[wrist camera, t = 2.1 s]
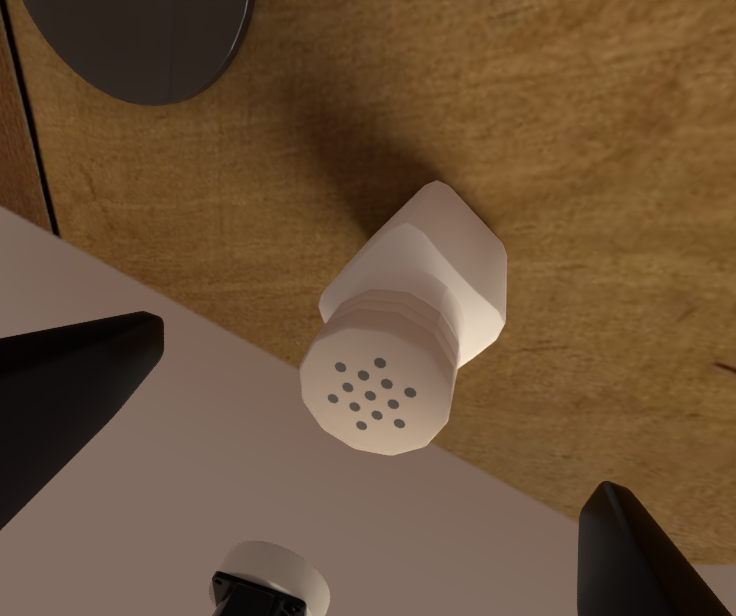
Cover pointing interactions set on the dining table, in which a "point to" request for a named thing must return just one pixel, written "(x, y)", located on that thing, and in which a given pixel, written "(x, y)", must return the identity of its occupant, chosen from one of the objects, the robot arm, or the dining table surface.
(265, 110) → the dining table surface
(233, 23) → the coaster
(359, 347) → the salt shaker
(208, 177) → the dining table surface
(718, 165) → the dining table surface
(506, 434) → the dining table surface
